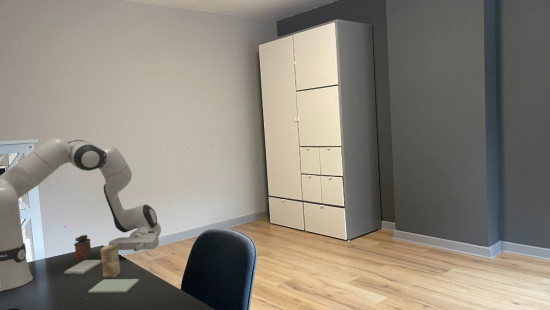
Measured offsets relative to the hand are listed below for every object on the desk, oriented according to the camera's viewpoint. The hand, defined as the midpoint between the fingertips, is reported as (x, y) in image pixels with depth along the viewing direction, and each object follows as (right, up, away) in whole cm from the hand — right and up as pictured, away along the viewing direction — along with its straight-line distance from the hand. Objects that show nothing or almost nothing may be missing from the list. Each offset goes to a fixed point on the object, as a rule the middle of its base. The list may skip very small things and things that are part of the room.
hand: (124, 249), depth 171 cm
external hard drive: (-17, -8, -1) cm, 18 cm away
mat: (+5, -8, -23) cm, 25 cm away
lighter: (-22, -7, +12) cm, 26 cm away
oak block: (-1, -7, -11) cm, 13 cm away
